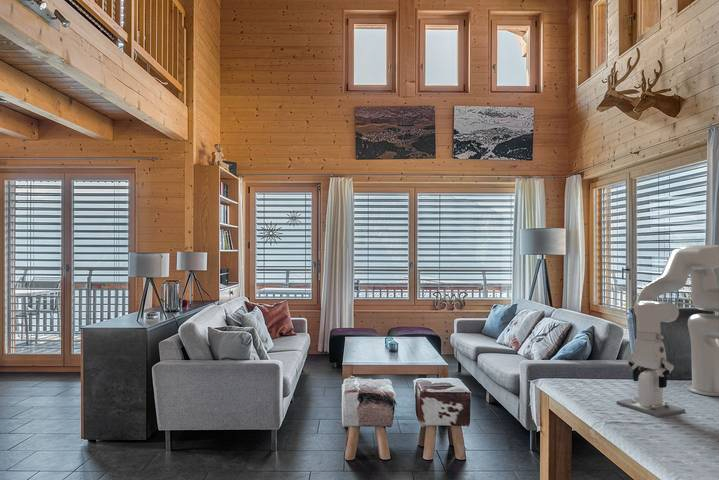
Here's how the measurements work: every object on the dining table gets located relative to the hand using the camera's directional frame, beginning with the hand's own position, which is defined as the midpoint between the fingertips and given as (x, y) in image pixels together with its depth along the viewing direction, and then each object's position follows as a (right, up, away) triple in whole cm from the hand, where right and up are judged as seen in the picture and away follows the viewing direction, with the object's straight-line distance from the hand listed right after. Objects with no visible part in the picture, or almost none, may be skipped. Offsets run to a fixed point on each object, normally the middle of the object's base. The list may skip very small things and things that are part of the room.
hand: (649, 384), depth 171 cm
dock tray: (0, -9, 0) cm, 8 cm away
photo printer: (0, -8, -1) cm, 8 cm away
